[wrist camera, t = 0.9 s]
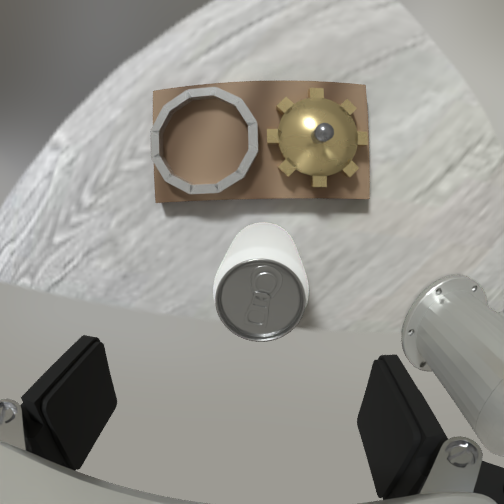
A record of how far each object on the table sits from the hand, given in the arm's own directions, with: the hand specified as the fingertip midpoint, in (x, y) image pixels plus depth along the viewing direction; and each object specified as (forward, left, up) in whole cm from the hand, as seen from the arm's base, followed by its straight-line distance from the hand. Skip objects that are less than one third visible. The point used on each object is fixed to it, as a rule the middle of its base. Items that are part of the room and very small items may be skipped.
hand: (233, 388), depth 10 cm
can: (-1, +1, -22) cm, 22 cm away
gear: (-6, -10, -20) cm, 23 cm away
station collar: (+4, -10, -20) cm, 23 cm away
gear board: (-1, -10, -22) cm, 24 cm away
